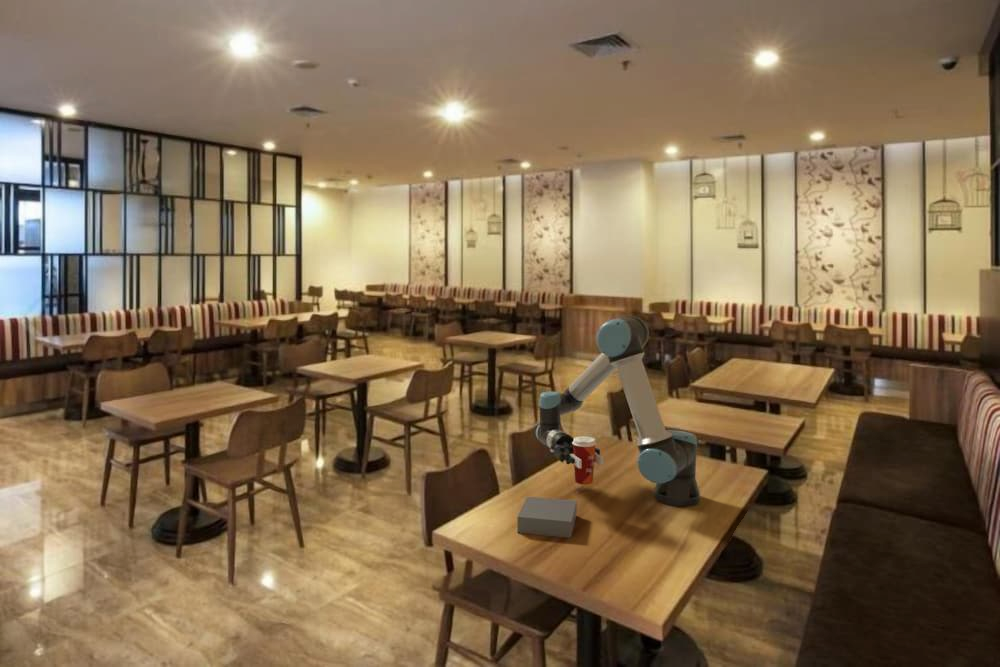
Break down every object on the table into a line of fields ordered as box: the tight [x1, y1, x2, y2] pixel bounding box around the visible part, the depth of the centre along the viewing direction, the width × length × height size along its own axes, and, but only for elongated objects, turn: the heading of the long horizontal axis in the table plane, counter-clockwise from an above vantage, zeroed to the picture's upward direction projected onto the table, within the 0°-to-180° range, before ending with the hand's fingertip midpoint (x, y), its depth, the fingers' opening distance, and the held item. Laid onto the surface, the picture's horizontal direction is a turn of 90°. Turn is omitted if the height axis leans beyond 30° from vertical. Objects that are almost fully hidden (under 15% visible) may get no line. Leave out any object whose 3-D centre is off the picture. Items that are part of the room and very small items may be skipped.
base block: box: [517, 496, 578, 539], centre depth 194 cm, size 16×16×5 cm
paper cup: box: [572, 435, 597, 485], centre depth 202 cm, size 8×8×14 cm
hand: (591, 462), depth 197 cm, fingers closed on paper cup, 7 cm apart
